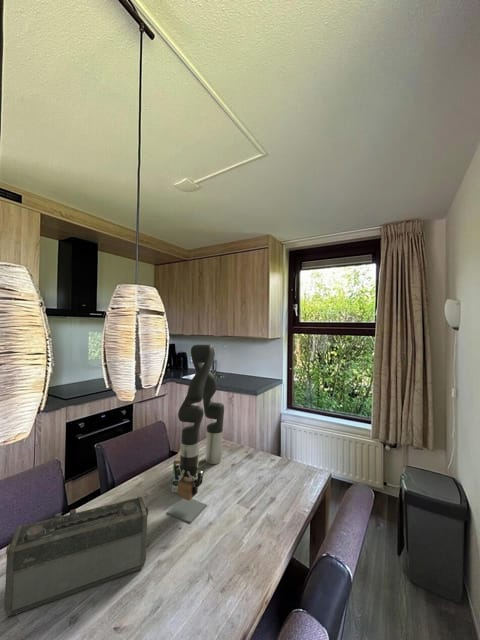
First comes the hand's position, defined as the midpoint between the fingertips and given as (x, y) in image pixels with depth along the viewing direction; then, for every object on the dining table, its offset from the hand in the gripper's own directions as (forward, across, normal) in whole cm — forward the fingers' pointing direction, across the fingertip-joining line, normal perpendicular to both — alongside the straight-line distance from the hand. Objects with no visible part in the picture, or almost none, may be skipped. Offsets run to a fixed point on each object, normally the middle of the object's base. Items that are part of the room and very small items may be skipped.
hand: (187, 492), depth 119 cm
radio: (+8, +11, +40) cm, 42 cm away
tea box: (+8, +12, -15) cm, 21 cm away
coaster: (+7, 0, 0) cm, 7 cm away
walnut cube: (+1, 0, 0) cm, 1 cm away
